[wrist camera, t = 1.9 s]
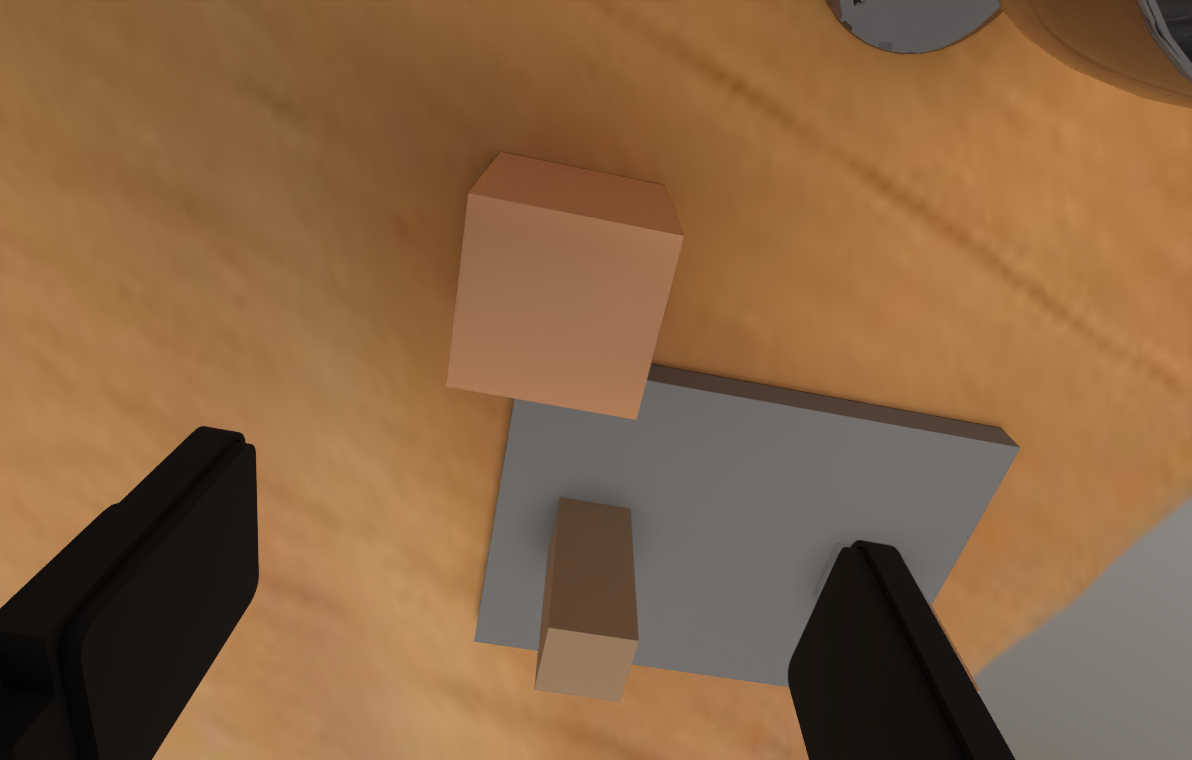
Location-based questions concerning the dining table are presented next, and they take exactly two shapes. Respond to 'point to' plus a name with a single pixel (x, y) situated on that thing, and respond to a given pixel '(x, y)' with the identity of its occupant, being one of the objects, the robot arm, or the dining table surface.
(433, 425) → the dining table surface
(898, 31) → the wine glass
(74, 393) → the dining table surface
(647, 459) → the post stand
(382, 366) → the dining table surface
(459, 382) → the tan cardboard box
